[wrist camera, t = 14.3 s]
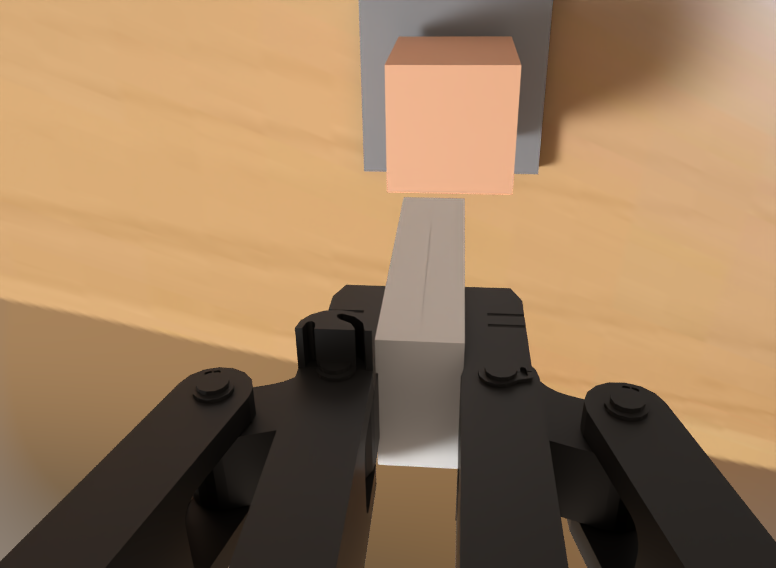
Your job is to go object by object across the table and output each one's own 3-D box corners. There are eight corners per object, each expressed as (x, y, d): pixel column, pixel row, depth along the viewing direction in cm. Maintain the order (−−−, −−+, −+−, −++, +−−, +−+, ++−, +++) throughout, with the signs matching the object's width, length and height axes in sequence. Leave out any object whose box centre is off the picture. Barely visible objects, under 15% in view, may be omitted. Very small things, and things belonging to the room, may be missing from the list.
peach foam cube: (398, 36, 33) (384, 64, 28) (511, 36, 33) (521, 65, 27) (399, 145, 36) (387, 192, 30) (505, 146, 35) (512, 194, 30)
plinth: (366, 164, 39) (364, 171, 38) (359, -62, 33) (356, -61, 33) (536, 167, 38) (538, 174, 37) (555, -65, 33) (558, -64, 32)
